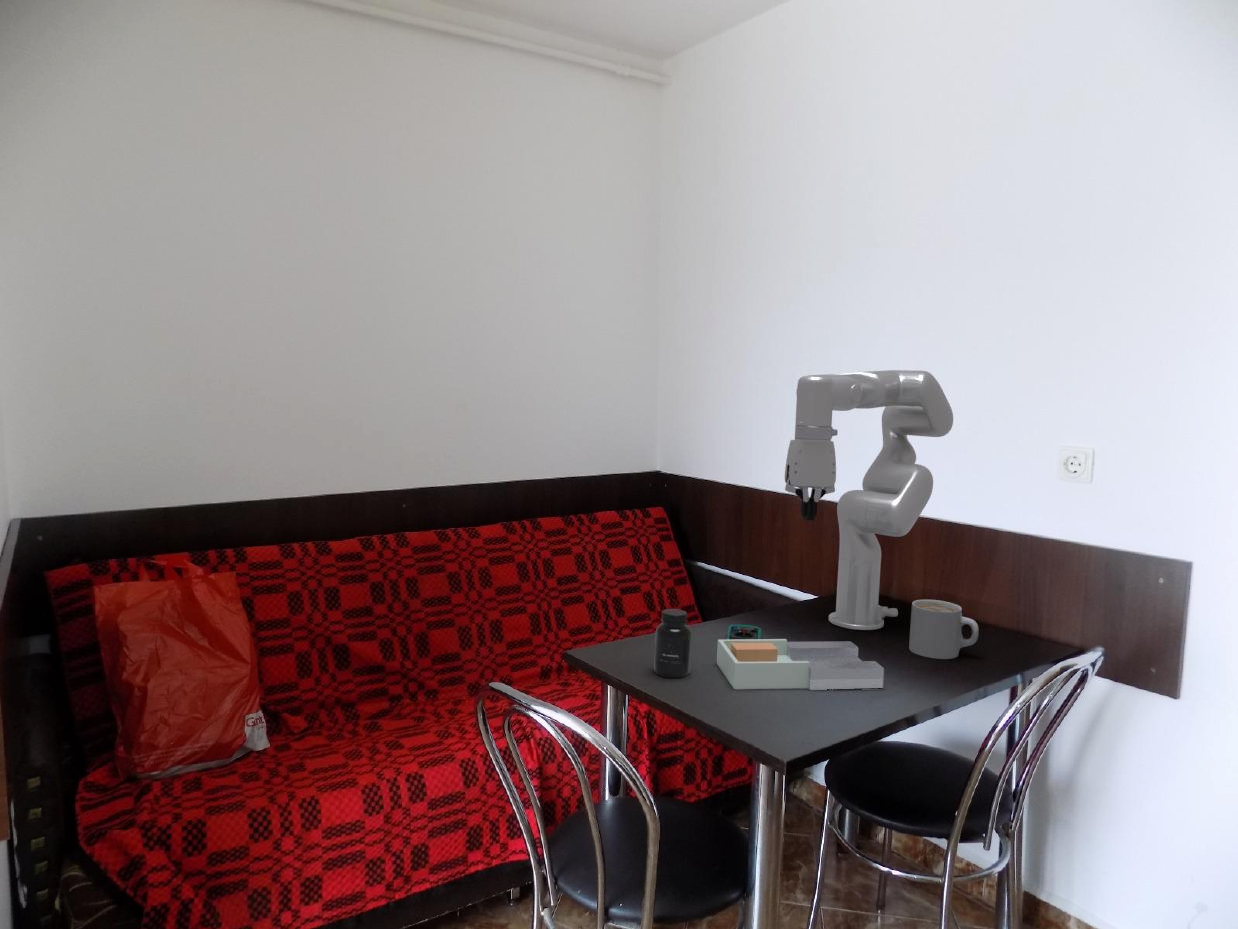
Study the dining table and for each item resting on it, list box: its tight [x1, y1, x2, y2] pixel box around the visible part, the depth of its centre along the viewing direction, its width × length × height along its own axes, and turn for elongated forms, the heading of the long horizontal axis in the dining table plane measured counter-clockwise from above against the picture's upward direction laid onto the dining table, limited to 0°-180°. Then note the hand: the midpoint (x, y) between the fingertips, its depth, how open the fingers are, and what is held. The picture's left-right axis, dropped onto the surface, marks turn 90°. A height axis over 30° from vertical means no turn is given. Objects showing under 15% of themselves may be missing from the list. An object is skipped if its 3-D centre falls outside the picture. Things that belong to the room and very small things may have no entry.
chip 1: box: [731, 643, 757, 662], centre depth 161 cm, size 4×4×4 cm
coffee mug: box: [908, 599, 980, 660], centre depth 178 cm, size 13×10×10 cm
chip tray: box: [716, 638, 809, 690], centre depth 161 cm, size 14×14×5 cm
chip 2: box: [752, 643, 778, 662], centre depth 161 cm, size 4×4×4 cm
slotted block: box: [786, 640, 885, 691], centre depth 163 cm, size 14×16×4 cm
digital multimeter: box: [726, 624, 763, 640], centre depth 180 cm, size 7×15×3 cm, turn 169°
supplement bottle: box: [653, 608, 692, 679], centre depth 161 cm, size 7×7×12 cm
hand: (808, 519), depth 180 cm, fingers closed
